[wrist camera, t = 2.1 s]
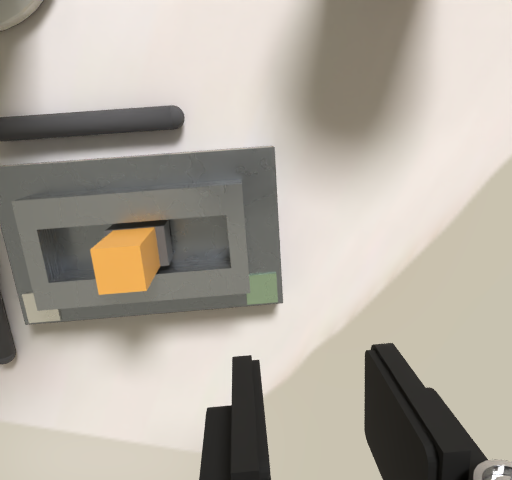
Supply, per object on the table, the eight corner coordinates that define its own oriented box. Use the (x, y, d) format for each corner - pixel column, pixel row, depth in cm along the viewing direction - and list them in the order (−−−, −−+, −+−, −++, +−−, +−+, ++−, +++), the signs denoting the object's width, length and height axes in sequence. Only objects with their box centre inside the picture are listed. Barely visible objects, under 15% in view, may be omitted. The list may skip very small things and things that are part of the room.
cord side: (-1, 141, 29) (-14, 142, 27) (-6, 118, 29) (-20, 118, 27) (186, 128, 29) (184, 128, 28) (184, 105, 29) (181, 104, 27)
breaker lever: (112, 224, 29) (79, 250, 23) (168, 220, 29) (150, 244, 23) (119, 260, 30) (88, 295, 23) (173, 256, 30) (156, 290, 23)
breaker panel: (2, 165, 29) (-37, 171, 25) (271, 145, 30) (277, 148, 26) (38, 313, 33) (8, 340, 28) (280, 292, 33) (286, 316, 29)
